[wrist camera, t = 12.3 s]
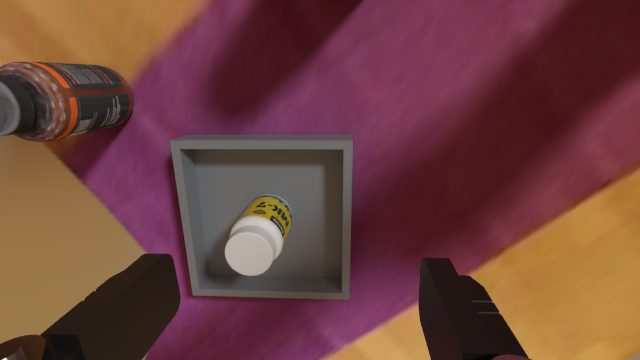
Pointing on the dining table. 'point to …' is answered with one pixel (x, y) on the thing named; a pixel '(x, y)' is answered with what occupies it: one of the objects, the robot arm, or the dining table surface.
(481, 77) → the dining table surface
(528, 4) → the dining table surface
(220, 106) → the dining table surface
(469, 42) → the dining table surface
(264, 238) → the supplement bottle
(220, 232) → the tray
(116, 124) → the supplement bottle
